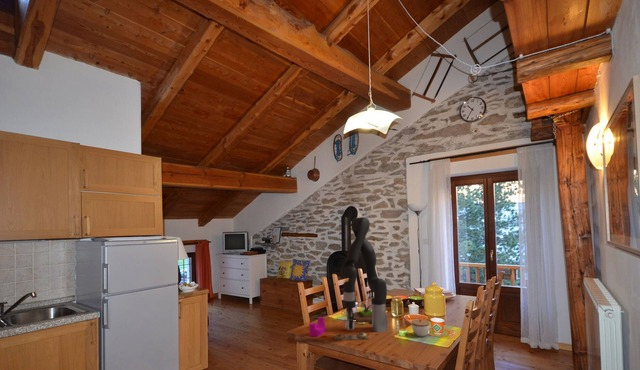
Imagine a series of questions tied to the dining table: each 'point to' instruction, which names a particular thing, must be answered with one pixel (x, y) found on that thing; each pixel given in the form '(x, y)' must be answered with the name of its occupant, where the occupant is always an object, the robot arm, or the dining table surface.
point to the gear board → (351, 337)
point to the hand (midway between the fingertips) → (350, 326)
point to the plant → (363, 315)
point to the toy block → (317, 327)
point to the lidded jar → (420, 327)
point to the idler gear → (348, 324)
